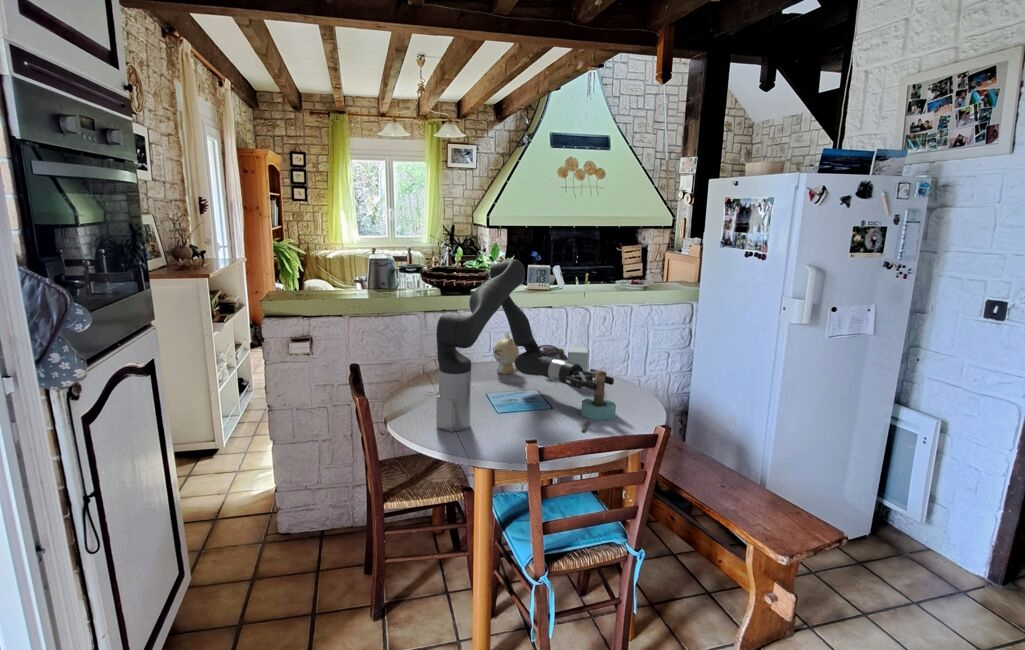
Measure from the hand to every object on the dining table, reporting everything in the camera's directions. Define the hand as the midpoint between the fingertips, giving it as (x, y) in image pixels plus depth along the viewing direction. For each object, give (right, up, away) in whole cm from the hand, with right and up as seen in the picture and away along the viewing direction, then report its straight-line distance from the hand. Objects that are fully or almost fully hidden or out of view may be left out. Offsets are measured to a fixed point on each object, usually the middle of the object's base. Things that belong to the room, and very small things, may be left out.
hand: (605, 384), depth 174 cm
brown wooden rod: (-2, -10, +4) cm, 11 cm away
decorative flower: (-13, 0, +46) cm, 48 cm away
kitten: (-32, 0, +43) cm, 54 cm away
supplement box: (-5, -3, +35) cm, 35 cm away
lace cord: (-7, -12, -7) cm, 16 cm away
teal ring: (-2, -10, +4) cm, 11 cm away
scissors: (-50, -5, +20) cm, 54 cm away
